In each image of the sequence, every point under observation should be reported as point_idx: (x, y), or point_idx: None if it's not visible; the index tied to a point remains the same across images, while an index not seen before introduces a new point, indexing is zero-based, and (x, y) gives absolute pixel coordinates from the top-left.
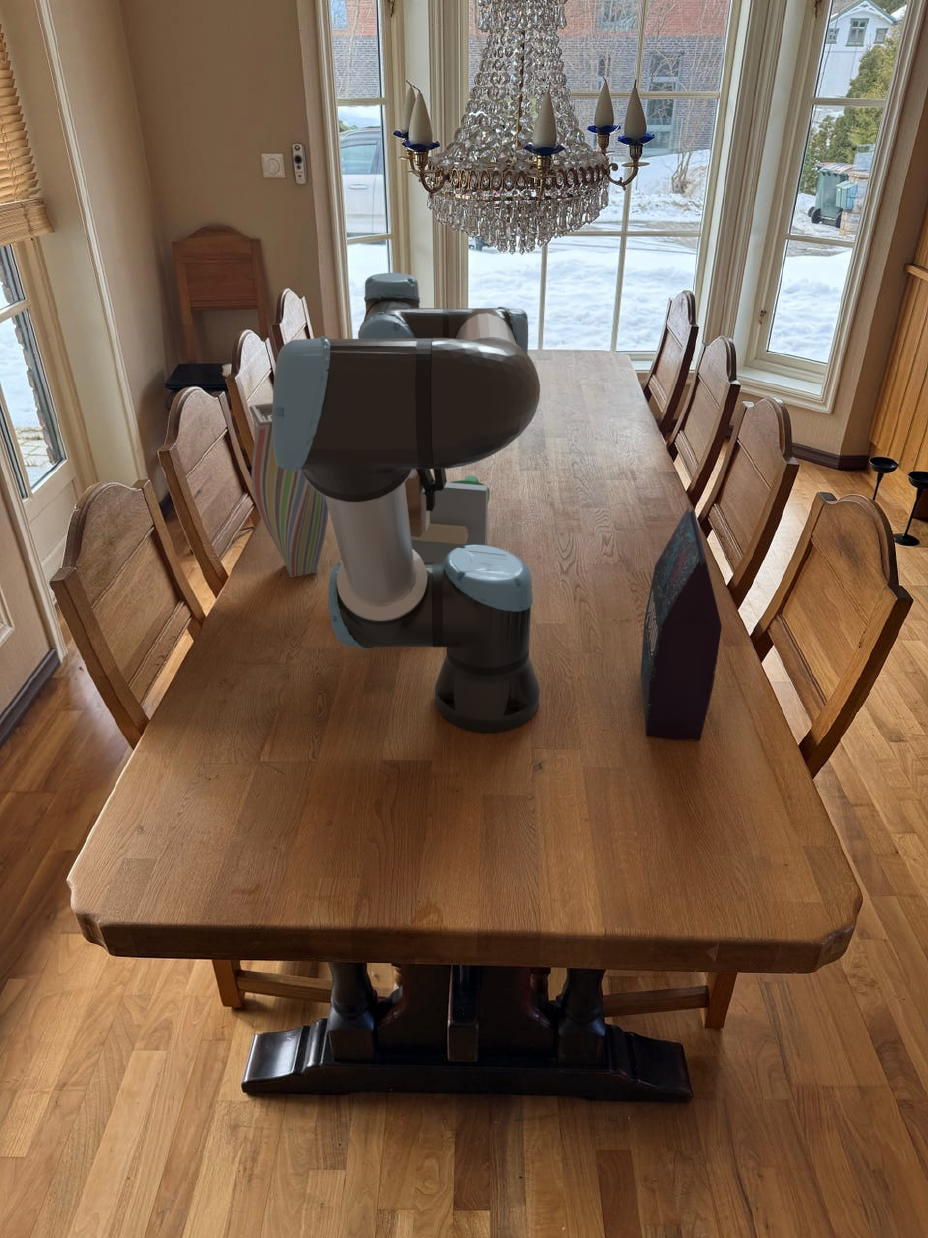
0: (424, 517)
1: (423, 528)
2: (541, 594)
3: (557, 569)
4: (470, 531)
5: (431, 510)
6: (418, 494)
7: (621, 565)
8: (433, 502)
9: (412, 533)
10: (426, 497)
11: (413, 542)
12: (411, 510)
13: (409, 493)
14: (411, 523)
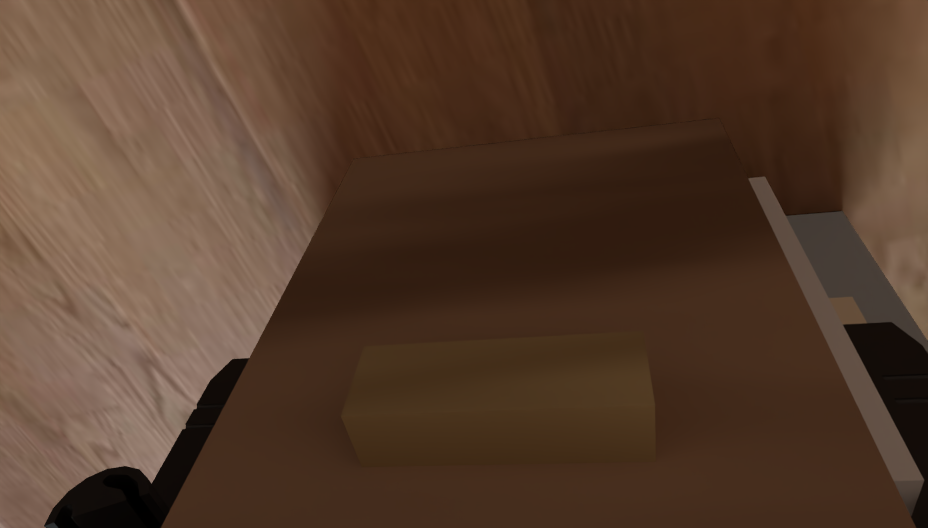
0: None
1: None
2: (130, 242)
3: (174, 371)
4: None
5: (238, 363)
6: (199, 463)
7: (44, 418)
8: (185, 429)
9: (407, 163)
10: None
11: None
12: (358, 295)
13: (317, 464)
14: (395, 212)
